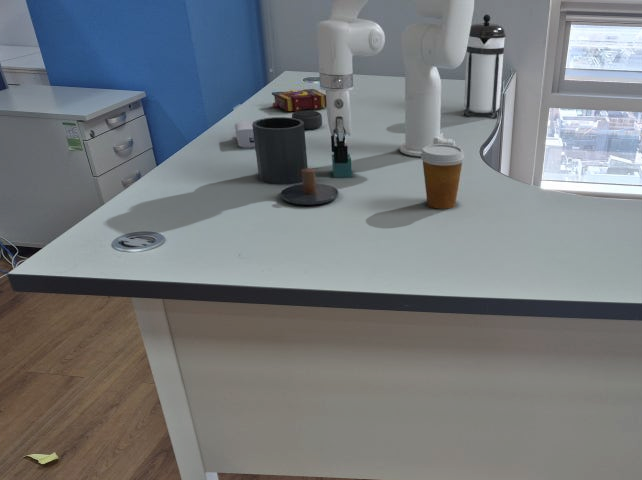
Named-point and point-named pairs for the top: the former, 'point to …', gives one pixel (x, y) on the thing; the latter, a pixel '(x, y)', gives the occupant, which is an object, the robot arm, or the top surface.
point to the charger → (245, 134)
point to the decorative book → (299, 100)
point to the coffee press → (484, 68)
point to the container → (280, 149)
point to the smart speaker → (309, 119)
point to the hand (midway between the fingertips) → (339, 157)
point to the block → (342, 168)
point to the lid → (309, 190)
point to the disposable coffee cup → (442, 174)
